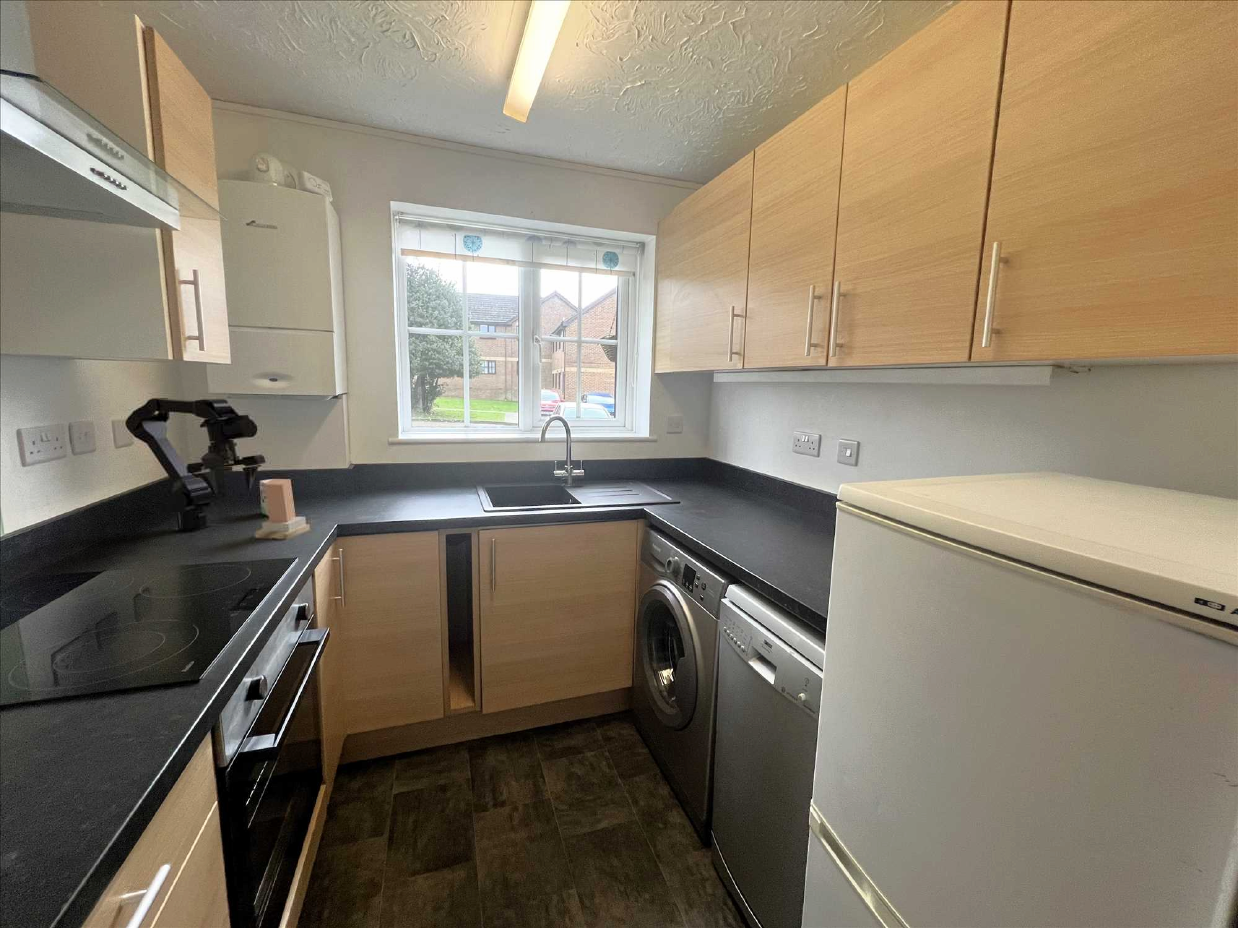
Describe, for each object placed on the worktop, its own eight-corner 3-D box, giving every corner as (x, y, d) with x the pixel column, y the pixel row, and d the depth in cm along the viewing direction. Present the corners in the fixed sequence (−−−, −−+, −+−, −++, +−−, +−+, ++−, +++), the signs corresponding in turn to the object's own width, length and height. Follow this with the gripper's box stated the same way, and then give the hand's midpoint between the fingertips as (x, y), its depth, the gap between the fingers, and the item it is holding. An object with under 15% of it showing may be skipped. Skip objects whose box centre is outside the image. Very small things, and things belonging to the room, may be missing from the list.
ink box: (261, 513, 180) (258, 480, 178) (277, 510, 184) (274, 478, 182) (270, 517, 175) (268, 483, 173) (287, 514, 179) (284, 481, 177)
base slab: (255, 539, 153) (254, 531, 152) (279, 530, 163) (279, 522, 162) (287, 541, 152) (286, 533, 152) (309, 532, 162) (309, 524, 161)
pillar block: (269, 521, 154) (264, 484, 151) (278, 515, 159) (272, 478, 155) (287, 521, 155) (282, 484, 151) (295, 515, 160) (290, 479, 156)
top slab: (262, 531, 153) (262, 522, 153) (280, 523, 161) (280, 516, 161) (289, 532, 153) (288, 523, 153) (305, 524, 161) (305, 517, 161)
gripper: (168, 447, 144) (181, 501, 146) (243, 438, 147) (254, 491, 149) (192, 444, 154) (203, 494, 156) (260, 436, 158) (271, 485, 160)
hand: (232, 491), depth 155 cm, fingers open, 9 cm apart
